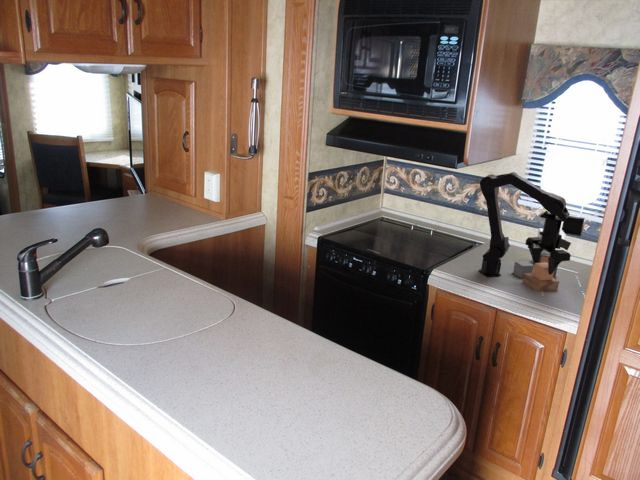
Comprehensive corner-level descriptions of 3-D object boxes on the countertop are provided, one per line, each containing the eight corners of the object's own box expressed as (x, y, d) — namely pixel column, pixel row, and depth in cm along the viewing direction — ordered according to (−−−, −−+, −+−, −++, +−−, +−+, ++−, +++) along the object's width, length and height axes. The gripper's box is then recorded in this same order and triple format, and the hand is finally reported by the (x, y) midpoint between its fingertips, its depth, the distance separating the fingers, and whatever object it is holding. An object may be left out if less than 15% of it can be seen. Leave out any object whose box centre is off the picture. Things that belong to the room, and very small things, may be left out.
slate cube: (520, 277, 217) (522, 266, 215) (512, 272, 221) (515, 261, 220) (531, 277, 218) (533, 265, 217) (523, 272, 223) (525, 260, 221)
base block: (536, 292, 205) (538, 282, 203) (522, 282, 213) (524, 273, 212) (557, 291, 207) (559, 281, 206) (541, 281, 215) (543, 272, 214)
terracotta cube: (540, 280, 206) (543, 267, 204) (532, 275, 210) (534, 263, 209) (552, 279, 207) (554, 267, 205) (543, 274, 212) (546, 262, 210)
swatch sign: (533, 274, 221) (537, 255, 219) (534, 270, 225) (538, 252, 223) (555, 278, 218) (559, 259, 216) (555, 274, 223) (559, 255, 220)
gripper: (587, 238, 197) (577, 278, 202) (552, 222, 213) (544, 260, 219) (561, 239, 193) (552, 280, 199) (528, 223, 210) (520, 261, 215)
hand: (542, 270), depth 208 cm, fingers open, 8 cm apart
